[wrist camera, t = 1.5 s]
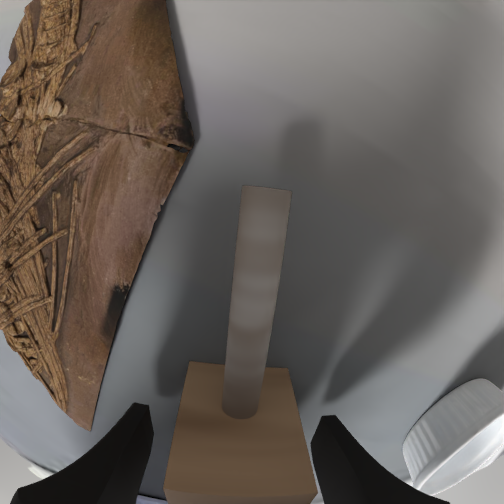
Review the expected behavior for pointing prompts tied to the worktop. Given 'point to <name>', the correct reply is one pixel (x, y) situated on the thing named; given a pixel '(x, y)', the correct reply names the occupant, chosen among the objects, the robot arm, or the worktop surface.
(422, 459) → the ramekin
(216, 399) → the mallet
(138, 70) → the wooden fragment
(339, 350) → the worktop surface
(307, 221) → the worktop surface
